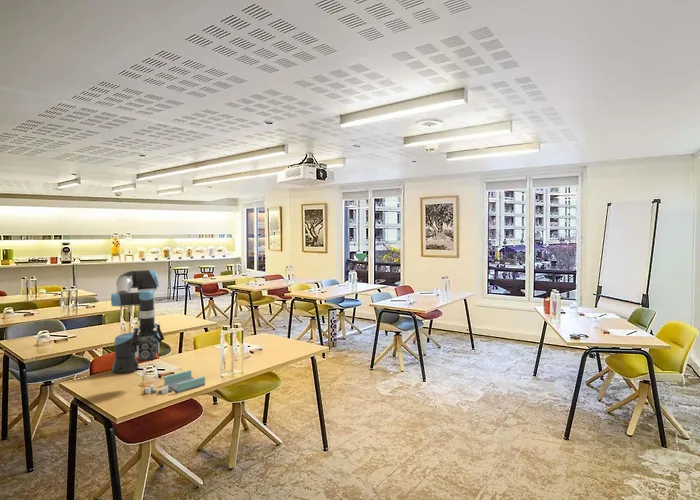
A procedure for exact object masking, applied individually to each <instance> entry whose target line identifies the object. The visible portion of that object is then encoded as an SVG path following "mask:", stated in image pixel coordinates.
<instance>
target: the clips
mask: <svg viewBox="0 0 700 500" xmlns="http://www.w3.org/2000/svg"><path fill="white" fill-rule="evenodd" d="M144 389H145V392H144V393H145V394H148V395H149V394H152V393H151V390H156V386H155V385H152V384H151V385H149V387H148V386H146V387H145V388H144ZM168 389H170V388H169V387H168V386H165V385H162V388H161V390H162V393H161V394H162V395H166V394H169V392H168Z"/></svg>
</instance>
